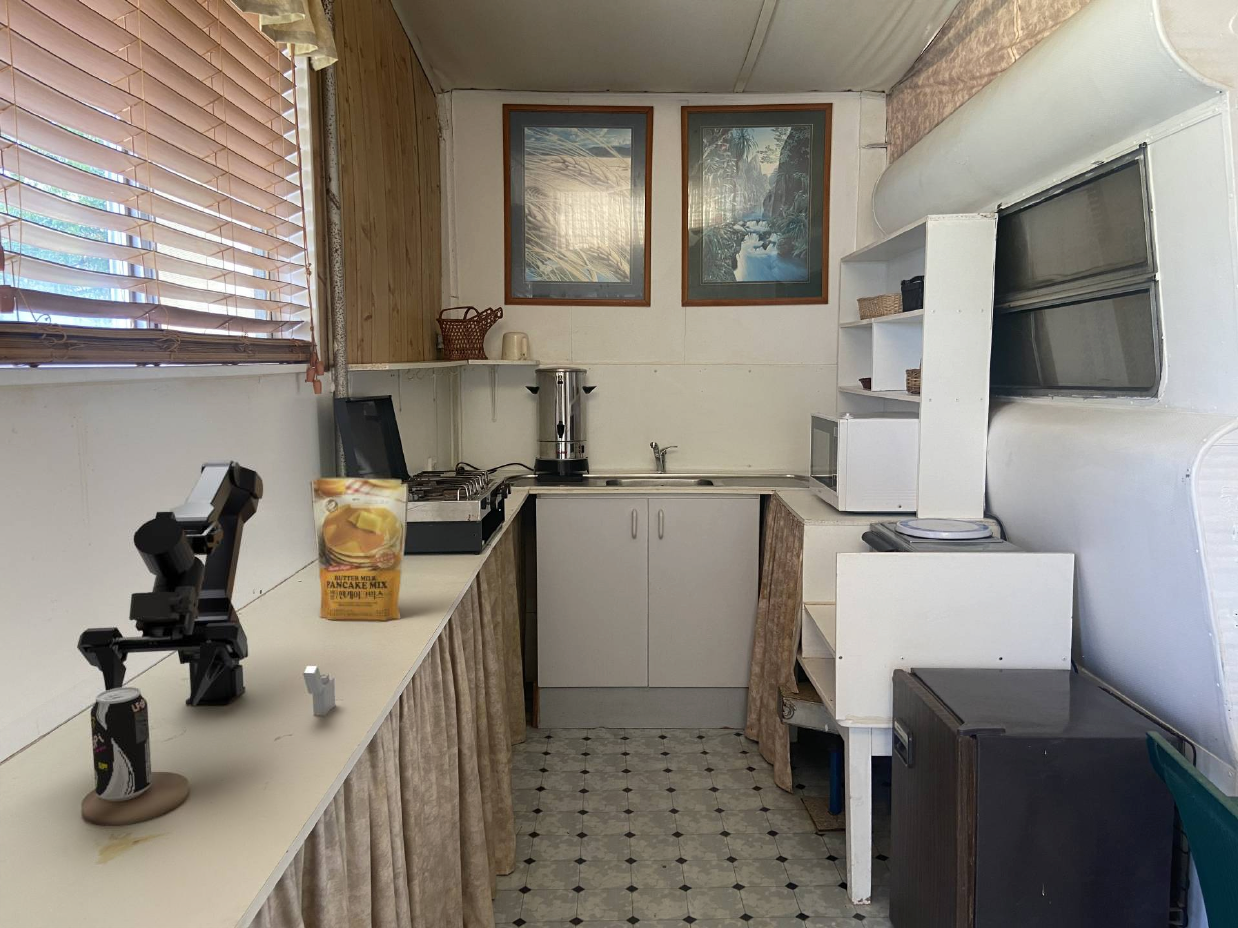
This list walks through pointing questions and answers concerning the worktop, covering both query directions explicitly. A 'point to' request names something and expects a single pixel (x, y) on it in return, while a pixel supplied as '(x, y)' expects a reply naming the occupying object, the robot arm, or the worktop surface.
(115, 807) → the bronze round coaster
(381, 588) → the pancake mix bag
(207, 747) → the worktop surface
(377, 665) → the worktop surface
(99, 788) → the beverage can
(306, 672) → the lighter
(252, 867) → the worktop surface
